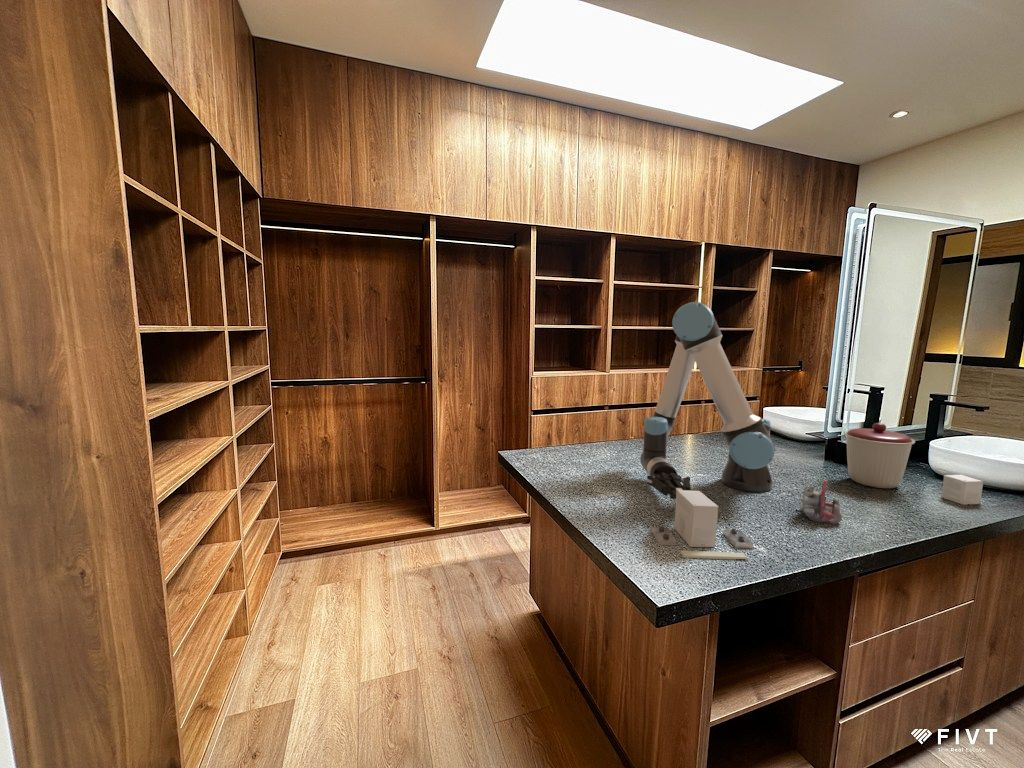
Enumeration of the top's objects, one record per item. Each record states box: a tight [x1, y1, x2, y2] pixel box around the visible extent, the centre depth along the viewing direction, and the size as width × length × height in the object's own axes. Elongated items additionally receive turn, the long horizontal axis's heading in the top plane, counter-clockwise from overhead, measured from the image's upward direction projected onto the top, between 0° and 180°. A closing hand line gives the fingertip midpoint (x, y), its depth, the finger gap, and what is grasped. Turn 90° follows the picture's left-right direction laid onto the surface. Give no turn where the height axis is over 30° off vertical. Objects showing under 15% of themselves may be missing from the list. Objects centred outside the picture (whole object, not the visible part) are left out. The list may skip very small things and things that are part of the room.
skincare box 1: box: [673, 490, 719, 548], centre depth 105 cm, size 10×6×10 cm, turn 0°
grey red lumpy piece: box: [799, 479, 843, 525], centre depth 117 cm, size 11×11×12 cm
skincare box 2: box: [941, 474, 984, 506], centre depth 129 cm, size 6×6×7 cm
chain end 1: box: [651, 526, 677, 546], centre depth 105 cm, size 4×7×2 cm, turn 176°
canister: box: [844, 422, 916, 489], centre depth 143 cm, size 18×18×21 cm
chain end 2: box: [722, 528, 754, 549], centre depth 104 cm, size 4×7×2 cm, turn 176°
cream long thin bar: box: [680, 550, 748, 561], centre depth 97 cm, size 14×2×1 cm, turn 86°
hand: (685, 501), depth 111 cm, fingers closed
